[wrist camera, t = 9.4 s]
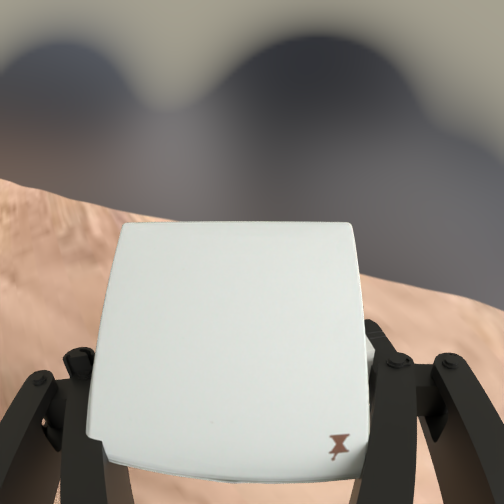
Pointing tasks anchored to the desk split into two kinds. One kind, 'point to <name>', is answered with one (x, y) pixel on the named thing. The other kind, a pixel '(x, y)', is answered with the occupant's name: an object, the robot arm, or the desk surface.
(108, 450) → the supplement box
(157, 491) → the desk surface
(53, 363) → the desk surface
